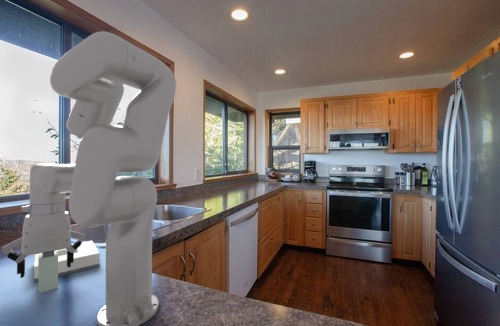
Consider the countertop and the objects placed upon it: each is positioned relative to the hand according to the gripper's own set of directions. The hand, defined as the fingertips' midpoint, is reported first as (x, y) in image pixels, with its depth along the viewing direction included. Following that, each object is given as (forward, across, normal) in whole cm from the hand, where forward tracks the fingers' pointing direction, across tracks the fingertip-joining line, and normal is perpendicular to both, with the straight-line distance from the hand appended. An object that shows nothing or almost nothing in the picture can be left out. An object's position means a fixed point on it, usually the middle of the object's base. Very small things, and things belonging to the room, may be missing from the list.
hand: (46, 270), depth 65 cm
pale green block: (+5, 0, -1) cm, 5 cm away
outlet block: (+5, +5, +13) cm, 15 cm away
